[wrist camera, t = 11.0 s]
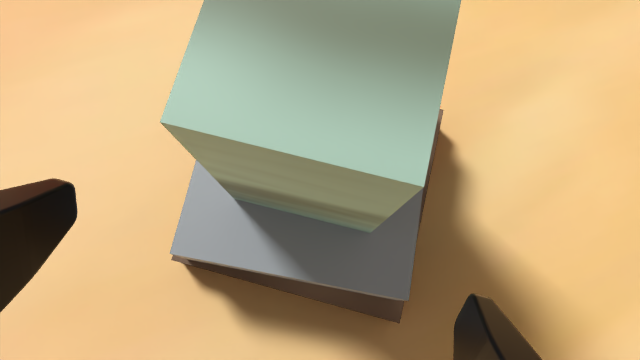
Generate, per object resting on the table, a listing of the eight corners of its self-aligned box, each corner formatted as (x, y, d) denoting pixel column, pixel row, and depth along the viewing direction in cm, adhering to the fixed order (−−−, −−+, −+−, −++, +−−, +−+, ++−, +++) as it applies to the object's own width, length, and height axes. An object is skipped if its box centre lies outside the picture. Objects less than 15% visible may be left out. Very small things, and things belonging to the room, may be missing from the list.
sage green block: (370, 233, 18) (423, 186, 9) (233, 198, 18) (159, 121, 9) (398, 105, 19) (469, -41, 11) (271, 74, 20) (237, -93, 11)
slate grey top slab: (396, 300, 20) (408, 300, 17) (186, 258, 20) (169, 253, 18) (423, 106, 22) (436, 82, 20) (237, 72, 23) (228, 45, 20)
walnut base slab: (389, 320, 22) (399, 323, 19) (186, 263, 22) (171, 260, 20) (430, 128, 25) (443, 109, 22) (249, 82, 25) (242, 59, 23)
